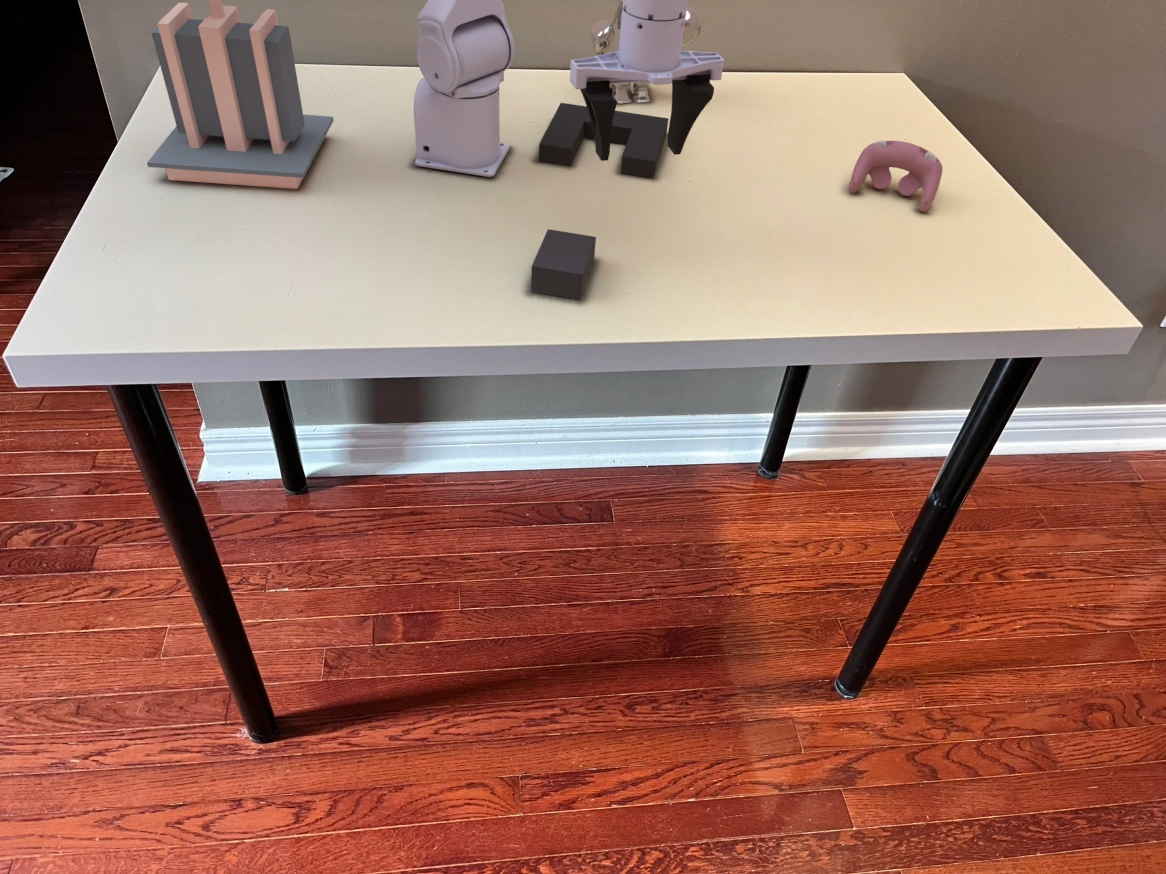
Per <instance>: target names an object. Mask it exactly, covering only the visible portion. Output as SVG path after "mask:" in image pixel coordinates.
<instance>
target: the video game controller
mask: <svg viewBox="0 0 1166 874" xmlns="http://www.w3.org/2000/svg"><path fill="white" fill-rule="evenodd" d="M890 168H894V169H895V168H896V169H899V170H900V169H901V170H904V171H906V172H908V173H907V174H905V175H904V176H902V177H901V178H900V179H899V181H898V183H897V190H898V192H899V193H900V194H901V195H902V196H904V197H910V196H912V195H914V194H915V193H916V192H917V191H918V190H919V189H920V188H921V191H922V192H921V196H920V203H919V210H920V212H921V213H922V212H923V213H924V212H927V211H928V210H929V209H930V207H931V206H932V204H933V202H934V200H935V198H936V195H937V192H938V191H939V187H940V184H941V180H942V176H943V175H942V174H943V164H942V162H941V160H940V159H939V158H938V157H937V156H936V155H935V154H934V153H933V152H931V151H929V150H928V149H926V148H924V147H922V146H920V145H917V144H915V143H911V142H907V141H901V140H878V141H876V142H872V143H870V144H868V145H867V146H866V147H864V149H863V150H862V151H861V152H860V155H859V156H858V158H857V160H856V162H855V164H854V167H853V171H852V172H851V173H852V174H851V177H850V180H849V184H848V190H849V193H851V194H855V193H857V192H858V191H859V189H861V187H862V185H863V184H864V182H865V180H866V179H867V177H868V175H869V177H870V179H871V180H870V181H871V184H872V186H873V187H874V188H876V189H879V190H882V189H885V188H887V187H889V186H890V184H891V183H892V173H891V171H890Z"/></svg>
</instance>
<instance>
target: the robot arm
mask: <svg viewBox="0 0 1166 874" xmlns="http://www.w3.org/2000/svg"><path fill="white" fill-rule="evenodd" d="M688 3H689V0H623V7H622V18H621V29H620V31H619V41H618V50H617V51H612V52H606V54H603V55H599V56H595V55H594V56H591V57H585V58H578V59H570V66H569V81H570V83H571V85H572V86H573V87H574V89H575V90H580V92H581V94H582V98H583V100H584V103H585V106H587V109H588V112H589V115H590V119H591V123H592V128H593V133H594V139H595V140H594V147H595V148H594V149H595V153H596V155H597V157H598V158H599V160H600V161H602V162H606V161H609V158H610V154H611V153H610V152H611V142H610V137H611V127H612V122H613V117H614V113H615V111H616V110H617V109H616V108H617V105H618V104H619V103H618V102H617V101H616V99H615V98H614V97H613V95H612V89H611V88H610V84H616V83H631V84H632V82H648V81H649V82H650V84H651V85H656V86H658V85H660V86H661V85H670V84H671V108H670V109H671V111H670V116H669V117H670V118H669V123H668V129H667V143H666V144H667V147H668V149H669V150H670V152H672V154H673V155H674V156H678V155H681V154H682V151H683V148H684V145H685V143H686V141H687V139H688V136H689V134H690V132H691V130H692V128H693V126H694V124H695V123H696V121H697V119H698V118H699V116H700V114H701V113H702V112H703V110H704V109H705V108H706V106H707V105H708V104H709V103H710V102H711V100H713V97H714V93H715V87H714V86H713V84H711V81H721V80H722V76H723V70H724V66H725V65H724V63H725V59H724V58H723V57H722V56H721V55H720V54H719V52H717V51H694V50H682V47H683V46H682V40H683V32H684V25H685V17H686V10H687V7H688ZM416 24H417V31H418V39H417V45H416V58H417V59H416V60H417V64H418V67H419V70H420V72H421V74H422V76H423V77H421V78H420V79H419V81H418V83H417V85H416V88H415V91H414V98H413V122H414V136H415V149H416V159H415V161H414V163H415V166H417V167H421V168H429V169H434V170H435V169H436V170H442V171H447V172H454V173H461V174H467V175H473V176H481V177H487V178H493V177H494V176H495V175H496V173H497V171H498V170H499V168H500V166H501V164H502V162H504V161H503V160H504V159H505V158H506V156H507V154H508V152H509V151H510V148H511V147H510V146H511V145H510V144H509V143H505V142H500V141H501V140H500V139H501V138H500V134H501V133H500V131H501V130H500V129H501V127H500V123H501V122H500V84H501V83H503V82H504V81H505V71H507V70H508V69H509V68H510V67H511V66H512V64H513V62H514V58H515V42H514V37H513V35H512V32H511V29H510V27H509V25H508V22H507V19H506V14H505V5H504V3H503V2H502V1H501V0H427V1H426V3H425V4H424V6H423V7H422V9H421V11H420V12H419V13H418V16H417V17H416Z"/></svg>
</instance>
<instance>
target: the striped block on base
mask: <svg viewBox="0 0 1166 874" xmlns="http://www.w3.org/2000/svg"><path fill="white" fill-rule="evenodd" d="M207 3H208V7H209V14H208V15H207V16H206V18H205V19H195V18H193V15H192V11H191V6H190V3H189V2H179V1H178V3H177V4H176V5H175V6H173V8H171V10H170V11H169V12H167V13H166V14H165V15H164V16H163V17H162V18H161V19H160V20H159V21H158V22H157V27H155V28H154V29H153V30H152V31H151V37H152V41H153V44H154V47H155V51H156V55H157V58H158V63H159V66H160V70H161V72H162V73H161V74H162V76H163V81H164V84H165V89H166V92H167V96H168V100H169V104H170V107H171V110H172V114H173V118H174V122H175V126H174V129H172V131H171V132H170V134H169V135H168V136H167V137H166V138H165V139H164V141H163V142H162V143H161V144H160V146H159V147H158V148H157V149H156V151H155V152H154V153H153V154H152V156H151V157H150V158H149V160H148V161H147V162H146V164H147V168H158V169H165V171H166V175H167V178H168V181H178V182H192V183H193V182H194V183H208V184H222V185H233V186H234V185H237V186H249V187H263V188H278V189H279V188H280V189H294V190H299V189H298V188H299V187H300V185H301V182H302V181H303V179H304V178H305V176H306V174H307V173H308V171H309V169H310V167H311V165H312V163H313V161H314V160H315V158H316V155H317V153H318V151H319V150H320V147H321V146H322V144H323V142H324V140H325V138H326V136H327V134H328V132H329V130H330V128H331V127H332V125H333V123H334V122H335V121H334V116H330V115H329V116H328V115H317V114H316V115H315V114H304V112H303V106H302V105H303V104H302V100H301V95H300V93H301V92H300V88H299V82H298V75H297V70H296V65H295V64H296V62H295V58H294V57H295V56H294V52H293V45H292V38H291V34H290V33H291V32H290V26H288V25H279V21H278V16H277V9H273V8H272V9H271V8H265V10H264V11H263V12H262V14H260V16H259V18H258V19H257V20H256V21H255V22H254V23H248V22H241V16H240V12H239V6H232V5H224V4H223V0H207Z"/></svg>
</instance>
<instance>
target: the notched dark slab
mask: <svg viewBox="0 0 1166 874" xmlns="http://www.w3.org/2000/svg"><path fill="white" fill-rule="evenodd" d="M668 127H669V118H668V117H663V116H662V117H661V116H655V115H649V114H648V115H647V114H641V113H636V112H635V113H634V112H628V111H621V110H615V113H614V117H613V122H612V127H611V137H610V143H613V144H619V145H620V144H621V145H625V148H624V150H623V153H622V156H621V164H620V174H623V175H631V176H635V177H641V178H642V177H643V178H649V179H654V178H655V176H656V175H655V174H656V171H657V168H658V164H659V161H660V158H661V154H662V152H663V151H662V150H663V148H664V144H665V141H666V137H667V135H668ZM584 139H586V140H593V141H595V139H594V133H593V128H592V123H591V119H590V115H589V112H588V109H587V106H586V105H579V104H573V103H565V102H560V103H559V105H558V107H557V109H556V111H555V113H554V114H553V117H552V119H551V121H550V122H549V125H548V126H547V128H546V130H545V131H544V134H543V136H542V139H541V140H540V142H539V144H538V161H539V162H545V163H552V164H558V165H564V166H572V165H573V162H574V160H575V158H576V156H577V154H578V151H579V149H580V146H581V145H582V142H583V140H584Z"/></svg>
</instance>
